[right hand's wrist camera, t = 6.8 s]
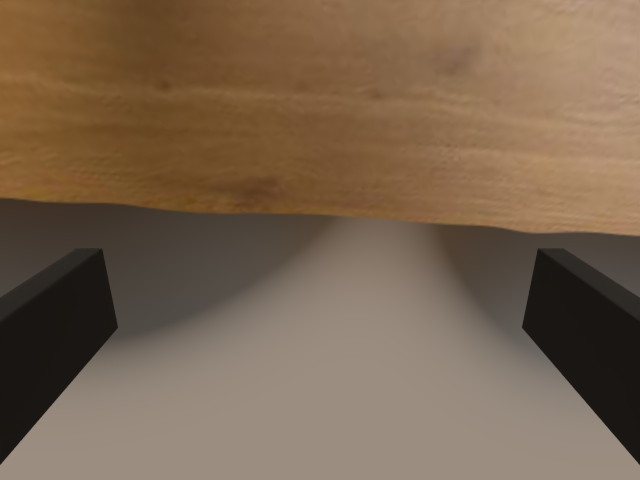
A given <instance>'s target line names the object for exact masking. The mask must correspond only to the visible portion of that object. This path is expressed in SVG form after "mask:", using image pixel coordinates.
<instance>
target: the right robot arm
mask: <svg viewBox="0 0 640 480" xmlns="http://www.w3.org/2000/svg"><path fill="white" fill-rule="evenodd" d="M117 328H118V325H117V321H116V315H115V310H114V305H113V300H112V296H111V291H110V286H109V281H108V276H107V271H106V266H105V261H104V256H103V251H102V249H75V250H74V251H72V252H70V253H69V254H67V255H66V256H64V257H63V258H61V259H60V260H58V261H56V262H55V263H53V264H52V265H50V266H49V267H47V268H46V269H44V270H42V271H41V272H39V273H38V274H36V275H35V276H33V277H32V278H30V279H29V280H27V281H26V282H24V283H22V284H21V285H19V286H18V287H16V288H15V289H13V290H11V291H10V292H8V293H7V294H5V295H4V296H2V297H1V298H0V464H1V463H2V462H3V461H4V460H5V459H6V457H7V456H8V455H9V454H10V453H11V452H12V451H13V449H14V448H15V447H16V446H17V445H18V444H19V442H20V441H21V440H22V439H23V438H24V437H25V435H26V434H27V433H28V432H29V431H30V430H31V428H32V427H33V426H34V425H35V424H36V423H37V421H38V420H39V419H40V418H41V417H42V416H43V414H44V413H45V412H46V411H47V410H48V409H49V407H50V406H51V405H52V404H53V403H54V402H55V400H56V399H57V398H58V397H59V396H60V395H61V393H62V392H63V391H64V390H65V389H66V388H67V386H68V385H69V384H70V383H71V382H72V381H73V379H74V378H75V377H76V376H77V375H78V374H79V372H80V371H81V370H82V369H83V368H84V367H85V365H86V364H87V363H88V362H89V361H90V360H91V358H92V357H93V356H94V355H95V354H96V353H97V351H98V350H99V349H100V348H101V347H102V346H103V344H104V343H105V342H106V341H107V340H108V339H109V337H110V336H111V335H112V334H113V333H114V332H115V330H116V329H117ZM522 328H523V329H524V330H525V332H526V333H527V334H528V335H529V336H530V337H531V339H532V340H533V341H534V342H535V343H536V344H537V346H538V347H539V348H540V349H541V350H542V351H543V353H544V354H545V355H546V356H547V357H548V358H549V360H550V361H551V362H552V363H553V364H554V365H555V367H556V368H557V369H558V370H559V371H560V372H561V374H562V375H563V376H564V377H565V378H566V379H567V381H568V382H569V383H570V384H571V385H572V386H573V388H574V389H575V390H576V391H577V392H578V393H579V395H580V396H581V397H582V398H583V399H584V400H585V402H586V403H587V404H588V405H589V406H590V407H591V409H592V410H593V411H594V412H595V413H596V414H597V416H598V417H599V418H600V419H601V420H602V421H603V423H604V424H605V425H606V426H607V427H608V428H609V430H610V431H611V432H612V433H613V434H614V435H615V437H616V438H617V439H618V440H619V441H620V442H621V444H622V445H623V446H624V447H625V448H626V449H627V451H628V452H629V453H630V454H631V455H632V456H633V458H634V459H635V460H636V461H637V462H638V463H639V464H640V298H639V297H638V296H636V295H635V294H633V293H632V292H630V291H629V290H627V289H625V288H624V287H622V286H621V285H619V284H618V283H616V282H615V281H613V280H611V279H610V278H608V277H607V276H605V275H604V274H602V273H601V272H599V271H597V270H596V269H594V268H593V267H591V266H590V265H588V264H587V263H585V262H584V261H582V260H580V259H579V258H577V257H576V256H574V255H573V254H571V253H570V252H568V251H566V250H565V249H538V251H537V256H536V261H535V266H534V271H533V276H532V281H531V286H530V291H529V296H528V300H527V305H526V311H525V315H524V320H523V325H522Z"/></svg>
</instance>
